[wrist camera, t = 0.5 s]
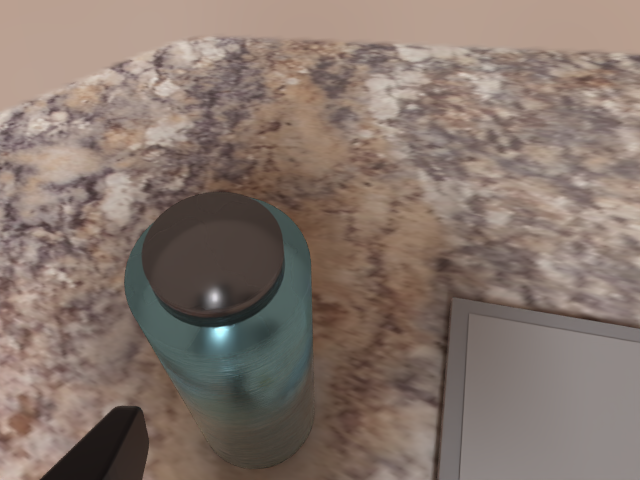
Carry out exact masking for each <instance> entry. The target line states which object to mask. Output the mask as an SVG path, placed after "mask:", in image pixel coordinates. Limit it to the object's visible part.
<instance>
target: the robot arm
mask: <svg viewBox="0 0 640 480" xmlns="http://www.w3.org/2000/svg"><path fill="white" fill-rule="evenodd" d="M148 448H149V438H148V433H147V429H146V424H145V420H144V415H143V411H142V409H141V408H140V407H137V406H117V407H115V408H113V409H112V410H111V411H110V412H109V413H108V414H107V415H106V416H105V417H104V418H103V419H102V420H101V421H100V422H99V423H98V424H97V425H96V426H95V427H94V428H93V429H92V430H91V431H89V432H88V433H87V434H86V435H85V436H84V437H83V438H82V439H81V440H80V441H79V442H78V443H77V444H76V445H75V446H74V447H73V448H72V449H71V450H70V451H69V452H68V453H67V454H66V455H65V456H64V457H63V458H62V459H61V460H59V461H58V462H57V463H56V464H55V465H54V466H53V467H52V468H51V469H50V470H49V471H48V472H47V473H46V474H45V475H44V476H43V477H42V478H41V479H40V480H142V478H143V473H144V468H145V464H146V459H147V455H148Z"/></svg>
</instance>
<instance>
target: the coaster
mask: <svg viewBox="0 0 640 480" xmlns="http://www.w3.org/2000/svg"><path fill="white" fill-rule="evenodd" d="M437 480H640V329H638V328H632V327H626V326H620V325H614V324H608V323H602V322H596V321H591V320H585V319H579V318H573V317H567V316H561V315H555V314H549V313H544V312H538V311H532V310H526V309H520V308H514V307H508V306H502V305H497V304H491V303H485V302H479V301H473V300H467V299H461V298H455V297H453V298H452V301H451V304H450V317H449V329H448V342H447V355H446V368H445V380H444V393H443V406H442V418H441V431H440V444H439V457H438V469H437Z"/></svg>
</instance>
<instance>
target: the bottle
mask: <svg viewBox="0 0 640 480" xmlns="http://www.w3.org/2000/svg"><path fill="white" fill-rule="evenodd" d="M124 285H125V294H126V298H127V302H128V305H129V307H130V309H131V312H132V314H133V315H134V317H135V319H136V321H137V322H138V324H139V326H140V327H141V329H142V331H143V333H144V334H145V336H146V338H147V339H148V341H149V343H150V344H151V346H152V348H153V350H154V351H155V353H156V355H157V356H158V358H159V360H160V361H161V363H162V365H163V367H164V368H165V370H166V372H167V373H168V375H169V377H170V379H171V380H172V382H173V384H174V385H175V387H176V389H177V390H178V392H179V394H180V396H181V397H182V399H183V401H184V402H185V404H186V406H187V408H188V409H189V411H190V413H191V414H192V416H193V418H194V419H195V421H196V423H197V425H198V426H199V428H200V430H201V431H202V433H203V435H204V436H205V438H206V440H207V442H208V443H209V445H210V446H211V448H212V449H213V450H214V451H215V452H216V454H218V455H219V456H220V457H221V458H222V459H224V460H225V461H227V462H229V463H231V464H233V465H235V466H239V467H242V468H249V469H260V468H267V467H270V466H274V465H276V464H278V463H281V462H283V461H284V460H286V459H288V458H289V457H290V456H292V455H293V454H294V453H295V452H296V451H297V450H298V449H299V448H300V447H301V445H302V444H303V443H304V442H305V440H306V438H307V436H308V434H309V432H310V430H311V427H312V423H313V419H314V372H313V330H312V288H311V259H310V252H309V249H308V246H307V242H306V240H305V238H304V236H303V234H302V233H301V231H300V230H299V228H298V227H297V225H296V224H295V223H294V222H293V221H292V220H291V219H290V218H289V217H288V216H287V215H286V214H284V213H283V212H282V211H280V210H279V209H277V208H276V207H274V206H272V205H270V204H268V203H266V202H263V201H260V200H257V199H254V198H250V197H247V196H244V195H240V194H236V193H230V192H210V193H203V194H198V195H195V196H192V197H189V198H187V199H184V200H182V201H180V202H178V203H176V204H174V205H173V206H171V207H170V208H169V209H167V210H166V211H165V212H164V213H162V214H161V215H160V216H159V217H158V218H157V220H156V221H155V222H154V223H152V224H151V225H150V226H149V227H148V228H147V229H146V231H145V232H144V233H143V234H142V235H141V237H140V238H139V239H138V241H137V242H136V244H135V246H134V248H133V249H132V251H131V254H130V256H129V259H128V262H127V266H126V270H125V280H124Z"/></svg>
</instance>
